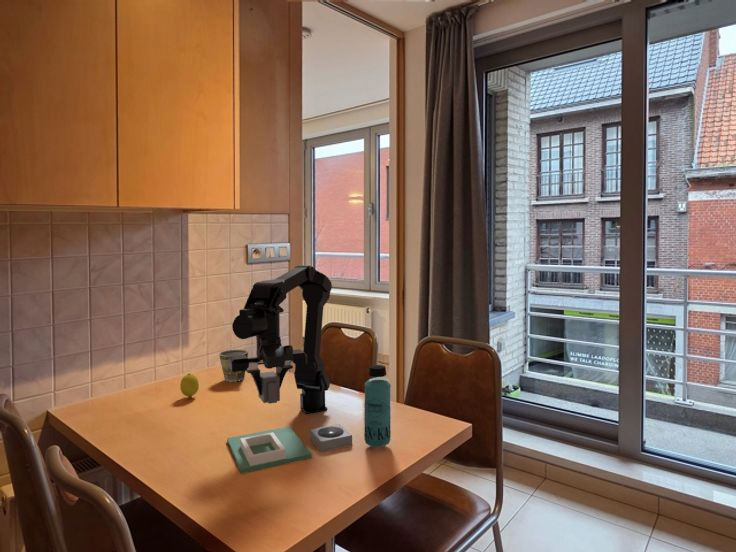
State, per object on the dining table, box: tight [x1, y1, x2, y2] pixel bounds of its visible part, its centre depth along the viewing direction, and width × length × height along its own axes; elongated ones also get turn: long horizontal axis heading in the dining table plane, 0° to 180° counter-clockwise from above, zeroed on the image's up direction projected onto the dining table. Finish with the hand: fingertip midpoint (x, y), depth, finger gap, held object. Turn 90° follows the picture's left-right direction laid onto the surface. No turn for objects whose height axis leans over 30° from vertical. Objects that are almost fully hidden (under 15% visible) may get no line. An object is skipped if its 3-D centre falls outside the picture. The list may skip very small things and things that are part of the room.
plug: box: [258, 371, 281, 404], centre depth 118 cm, size 4×7×6 cm, turn 25°
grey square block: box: [309, 423, 353, 453], centre depth 117 cm, size 8×8×3 cm
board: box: [226, 426, 313, 474], centre depth 113 cm, size 16×18×3 cm
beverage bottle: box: [363, 364, 392, 448], centre depth 113 cm, size 6×7×20 cm
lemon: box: [179, 372, 200, 399], centre depth 151 cm, size 6×6×8 cm
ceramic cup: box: [218, 349, 249, 383], centre depth 169 cm, size 13×10×10 cm
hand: (268, 393), depth 118 cm, fingers closed on plug, 4 cm apart
